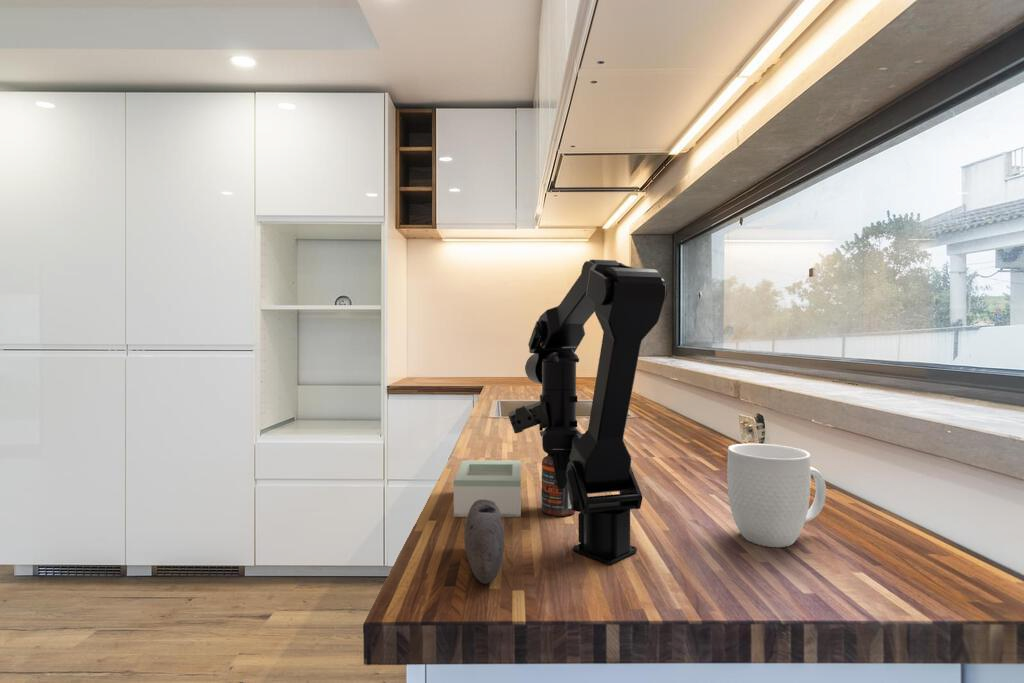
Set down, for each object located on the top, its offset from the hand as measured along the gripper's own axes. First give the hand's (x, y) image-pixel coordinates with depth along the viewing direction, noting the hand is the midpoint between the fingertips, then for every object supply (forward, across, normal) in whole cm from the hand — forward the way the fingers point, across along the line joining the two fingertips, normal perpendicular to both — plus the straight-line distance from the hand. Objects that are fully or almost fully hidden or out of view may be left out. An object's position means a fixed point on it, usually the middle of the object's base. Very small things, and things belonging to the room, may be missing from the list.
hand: (558, 480), depth 92 cm
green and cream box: (+5, -4, -12) cm, 14 cm away
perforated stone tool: (+6, +22, -11) cm, 25 cm away
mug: (+6, +12, +31) cm, 33 cm away
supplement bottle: (+5, 0, 0) cm, 5 cm away
